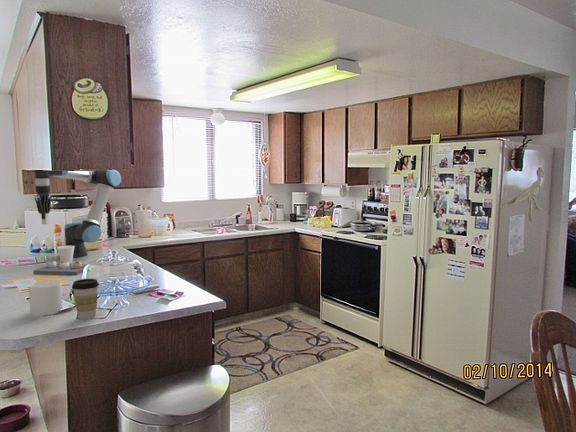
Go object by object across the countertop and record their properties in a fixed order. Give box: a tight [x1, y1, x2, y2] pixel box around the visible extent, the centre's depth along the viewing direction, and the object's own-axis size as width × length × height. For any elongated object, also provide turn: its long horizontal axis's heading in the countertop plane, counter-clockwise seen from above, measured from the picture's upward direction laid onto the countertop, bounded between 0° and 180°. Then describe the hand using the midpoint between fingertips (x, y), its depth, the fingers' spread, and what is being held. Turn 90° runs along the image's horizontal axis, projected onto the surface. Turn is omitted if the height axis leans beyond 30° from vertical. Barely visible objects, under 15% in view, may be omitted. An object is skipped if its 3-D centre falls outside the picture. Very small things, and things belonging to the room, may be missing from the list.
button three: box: [72, 261, 83, 269], centre depth 245 cm, size 5×5×5 cm
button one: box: [46, 260, 57, 268], centre depth 247 cm, size 5×5×5 cm
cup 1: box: [28, 279, 63, 317], centre depth 175 cm, size 12×12×12 cm
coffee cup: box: [71, 278, 100, 321], centre depth 168 cm, size 10×10×15 cm
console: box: [33, 263, 87, 276], centre depth 246 cm, size 18×26×2 cm
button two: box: [59, 261, 69, 269], centre depth 246 cm, size 5×5×5 cm
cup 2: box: [56, 245, 75, 264], centre depth 263 cm, size 10×10×11 cm
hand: (45, 224), depth 255 cm, fingers closed
